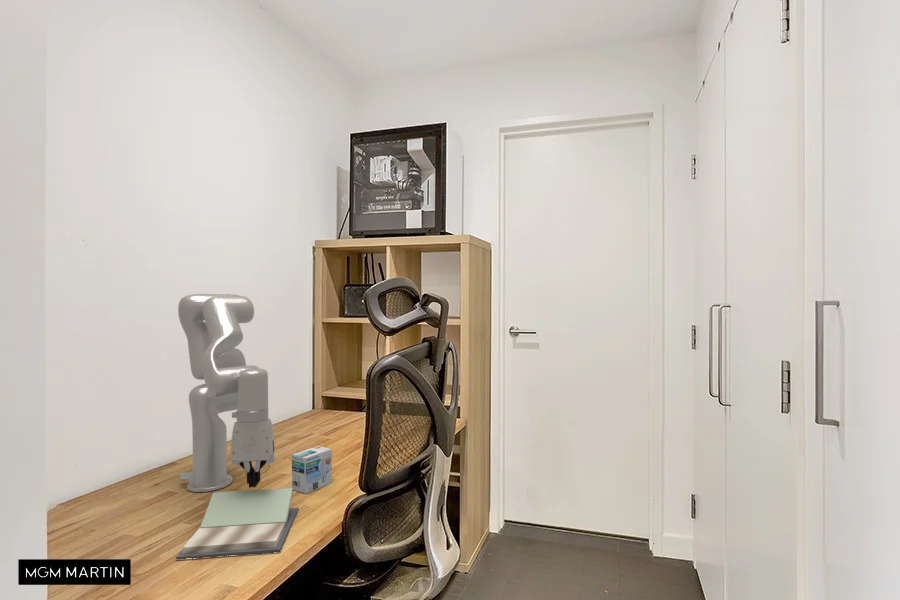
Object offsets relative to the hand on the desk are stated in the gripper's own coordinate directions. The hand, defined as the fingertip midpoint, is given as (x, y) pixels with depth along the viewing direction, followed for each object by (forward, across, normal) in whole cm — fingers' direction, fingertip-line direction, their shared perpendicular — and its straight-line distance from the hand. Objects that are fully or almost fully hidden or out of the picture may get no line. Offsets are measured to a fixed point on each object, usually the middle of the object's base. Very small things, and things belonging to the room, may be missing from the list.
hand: (253, 485), depth 123 cm
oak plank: (+8, 0, -13) cm, 16 cm away
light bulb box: (+9, +12, +20) cm, 25 cm away
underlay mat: (+8, 0, -8) cm, 12 cm away
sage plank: (+5, 0, -3) cm, 6 cm away
